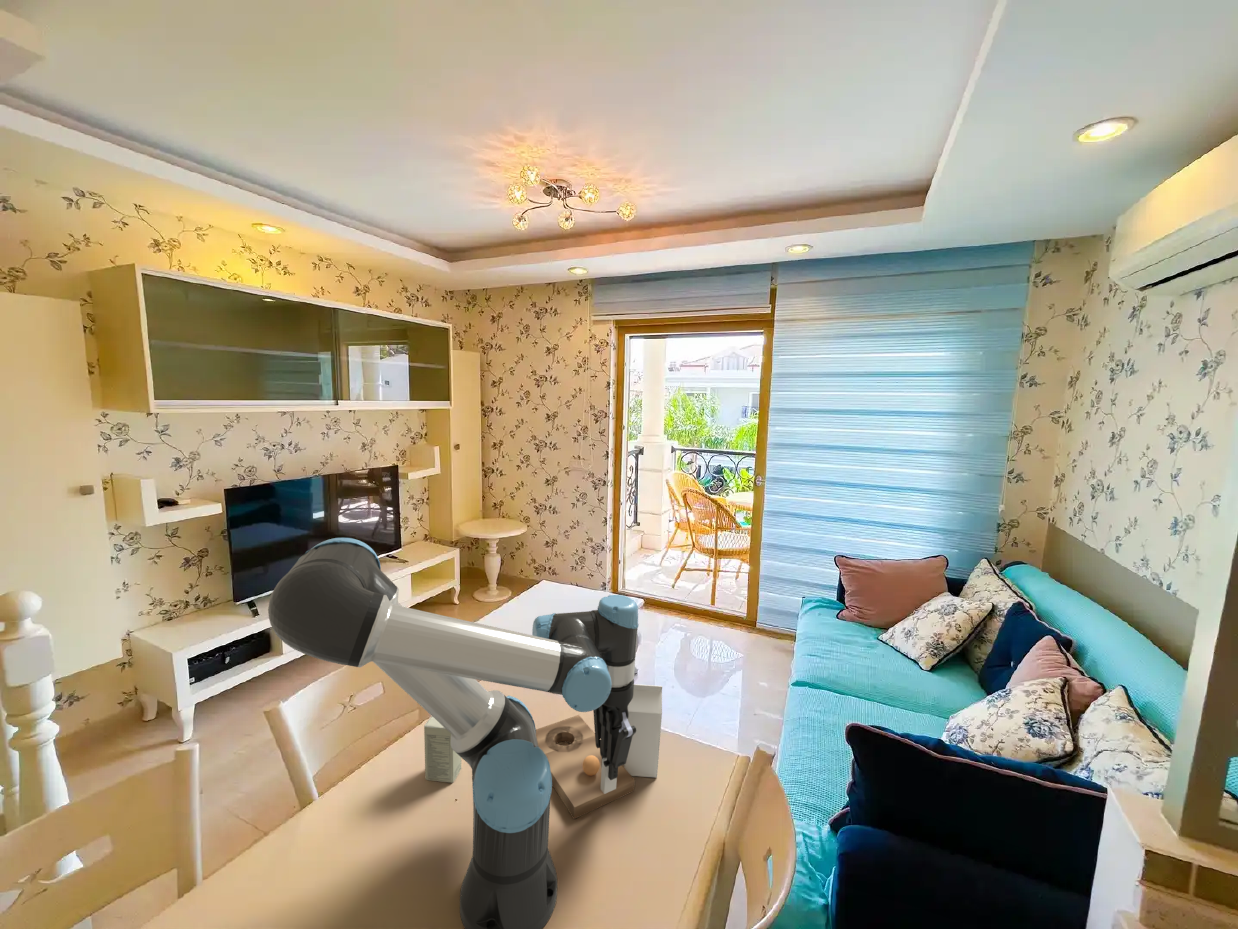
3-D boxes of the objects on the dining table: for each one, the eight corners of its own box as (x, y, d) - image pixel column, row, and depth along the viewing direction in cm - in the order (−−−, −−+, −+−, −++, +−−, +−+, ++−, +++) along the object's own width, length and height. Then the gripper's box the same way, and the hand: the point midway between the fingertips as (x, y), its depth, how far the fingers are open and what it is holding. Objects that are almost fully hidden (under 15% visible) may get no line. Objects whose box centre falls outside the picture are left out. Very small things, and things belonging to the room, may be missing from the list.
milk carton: (657, 778, 107) (663, 696, 104) (623, 776, 107) (629, 694, 104) (655, 754, 114) (661, 677, 111) (624, 752, 114) (629, 675, 111)
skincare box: (462, 768, 106) (462, 715, 105) (453, 784, 102) (454, 729, 100) (433, 764, 107) (433, 712, 105) (423, 780, 103) (423, 725, 101)
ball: (587, 782, 101) (588, 766, 101) (578, 770, 104) (579, 755, 104) (602, 775, 103) (603, 760, 103) (593, 764, 106) (594, 749, 106)
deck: (634, 791, 103) (634, 780, 103) (574, 819, 95) (574, 807, 95) (578, 724, 123) (578, 714, 122) (524, 743, 115) (525, 733, 115)
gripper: (650, 689, 92) (642, 805, 95) (613, 656, 103) (607, 761, 106) (616, 701, 88) (609, 821, 91) (581, 665, 99) (576, 773, 102)
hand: (608, 788), depth 98 cm, fingers closed
